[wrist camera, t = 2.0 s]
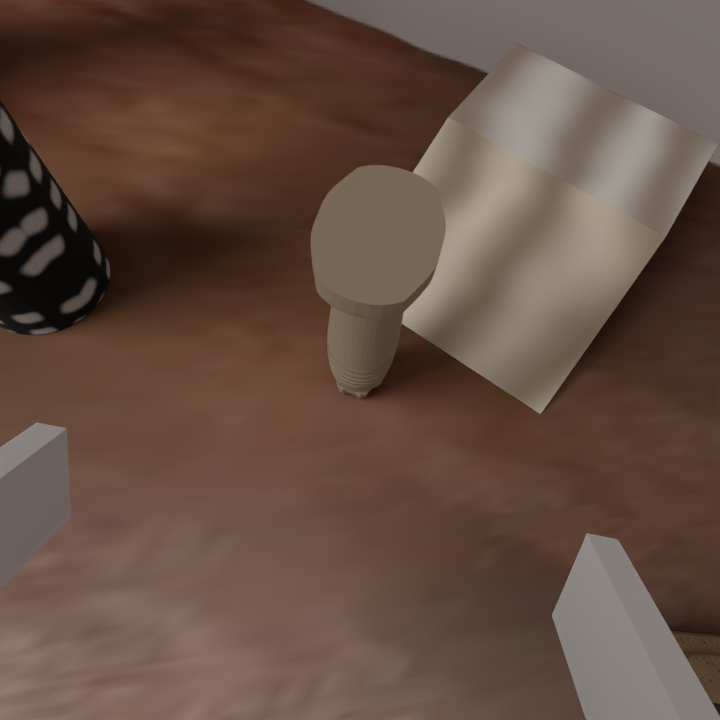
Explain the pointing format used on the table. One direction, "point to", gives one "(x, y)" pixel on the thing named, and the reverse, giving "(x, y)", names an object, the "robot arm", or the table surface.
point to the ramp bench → (545, 218)
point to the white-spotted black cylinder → (42, 245)
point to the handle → (373, 266)
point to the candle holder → (703, 659)
